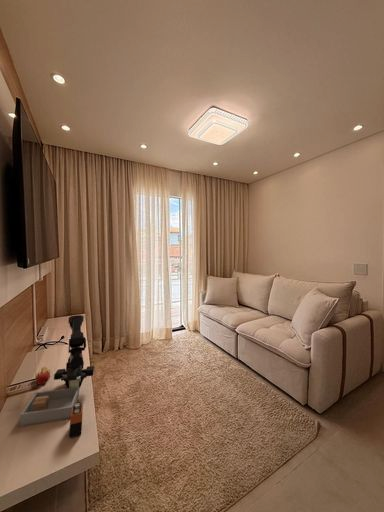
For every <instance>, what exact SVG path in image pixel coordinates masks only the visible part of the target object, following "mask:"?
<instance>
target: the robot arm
mask: <svg viewBox="0 0 384 512" xmlns="http://www.w3.org/2000/svg"><path fill="white" fill-rule="evenodd" d="M84 318H85V316H84V315H82V314H76V315H70V316H69V317H68V322H67V323H68V324H69V328H70V329H71V334H70V339H68V354H69V355H70V356H69V357H68V358H67V359H68V360H67V362H66V363H65V365H66V366H65V367H66V368H60V369H57V370H56V371H55V373H54V375H53V380H54V381H58V380H61V381H64V384H65V385H66V389H67V388H69V381H70V380H76V379H77V377H79V376H80V384H79V387H80V388H81V386H82V383H83V381H84V379H86V378H87V377H92V376H94V373H95V369H96V368H95V366H94V365H92V366H91V365H89V366H86V368H84V364H85V361H84V358H83V357H84V356H83V351H85V350H86V348H87V339H86V337H85V336H84V332H82V326H83V325H82V324H83V323H84V320H85V319H84Z"/></svg>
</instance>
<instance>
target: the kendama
mask: <svg viewBox="0 0 384 512" xmlns="http://www.w3.org/2000/svg"><path fill="white" fill-rule="evenodd" d="M40 372H41V373H40ZM40 372H36V373H35V382H36V383H37V384H38V383H39V384H38V385H40V386H41V385H42V386H43V385H45V384H46V383H47V382H48V381H49V380H50V377H51V370H50V369H48V368H47V367H46V366H43V367H42V368H41V371H40Z"/></svg>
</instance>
